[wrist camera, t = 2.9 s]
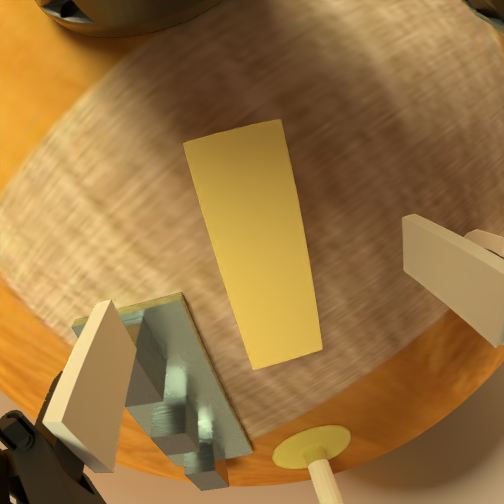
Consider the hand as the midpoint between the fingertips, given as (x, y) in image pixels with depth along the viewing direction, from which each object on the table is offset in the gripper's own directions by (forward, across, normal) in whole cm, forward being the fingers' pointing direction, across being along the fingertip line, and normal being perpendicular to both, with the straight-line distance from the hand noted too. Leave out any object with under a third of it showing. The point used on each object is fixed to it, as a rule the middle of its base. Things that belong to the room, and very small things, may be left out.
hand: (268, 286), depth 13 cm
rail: (+8, -10, -14) cm, 19 cm away
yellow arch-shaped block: (+8, 0, 0) cm, 8 cm away
